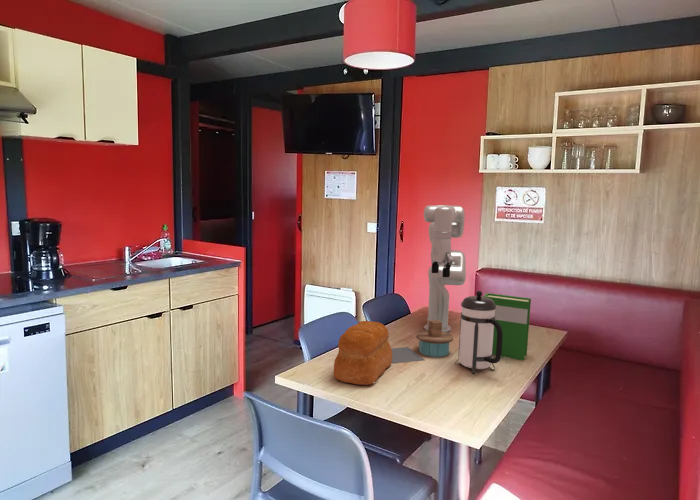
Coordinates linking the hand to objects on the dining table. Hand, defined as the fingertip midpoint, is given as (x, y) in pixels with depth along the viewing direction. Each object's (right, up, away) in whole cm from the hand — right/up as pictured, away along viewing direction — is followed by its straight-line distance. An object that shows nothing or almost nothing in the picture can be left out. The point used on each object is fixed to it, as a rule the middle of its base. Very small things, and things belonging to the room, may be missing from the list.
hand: (440, 275), depth 209 cm
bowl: (-5, -32, -10) cm, 34 cm away
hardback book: (+25, -33, -9) cm, 42 cm away
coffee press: (+9, -35, -26) cm, 44 cm away
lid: (-4, -25, -11) cm, 28 cm away
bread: (-34, -34, -32) cm, 58 cm away
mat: (-20, -32, -15) cm, 40 cm away
